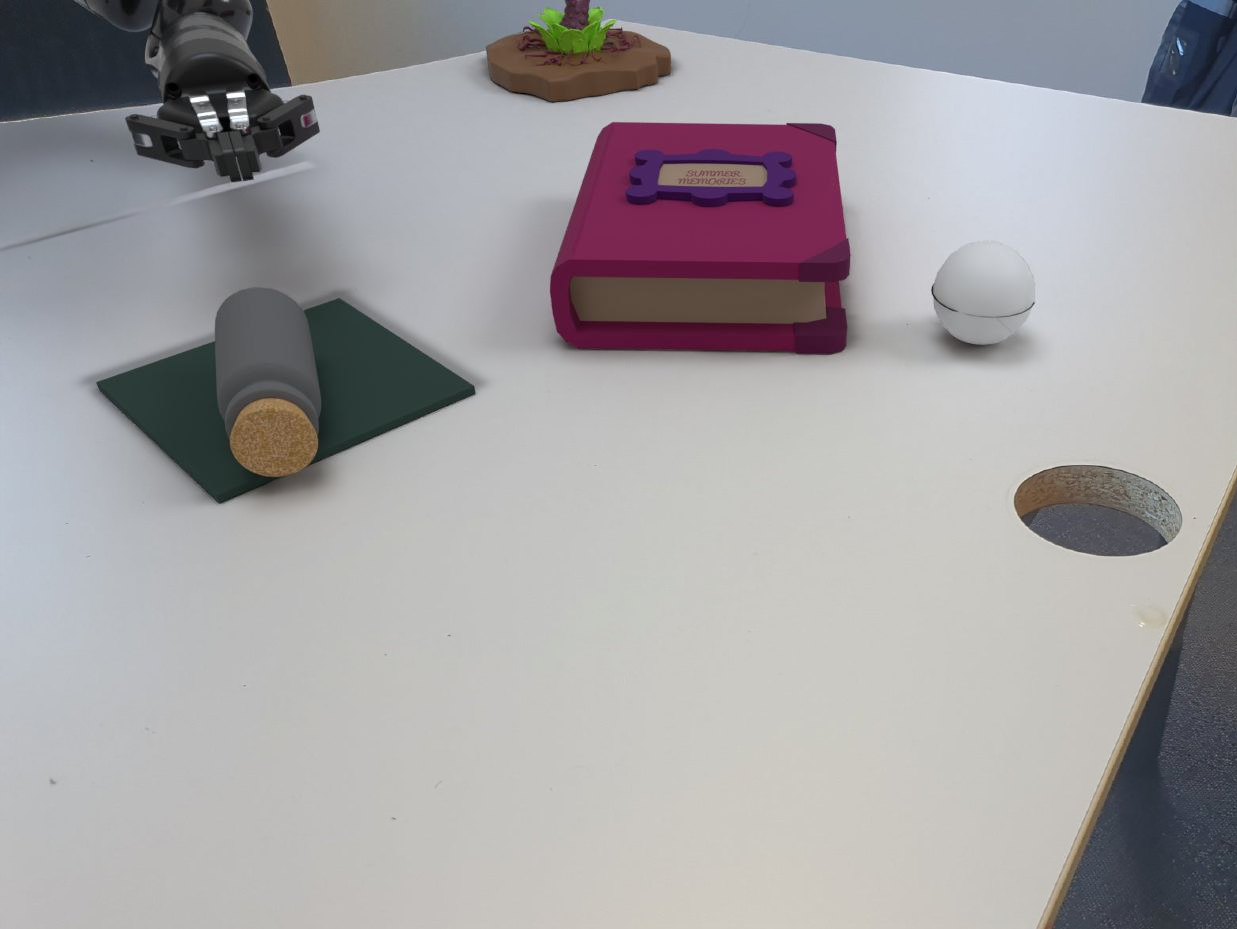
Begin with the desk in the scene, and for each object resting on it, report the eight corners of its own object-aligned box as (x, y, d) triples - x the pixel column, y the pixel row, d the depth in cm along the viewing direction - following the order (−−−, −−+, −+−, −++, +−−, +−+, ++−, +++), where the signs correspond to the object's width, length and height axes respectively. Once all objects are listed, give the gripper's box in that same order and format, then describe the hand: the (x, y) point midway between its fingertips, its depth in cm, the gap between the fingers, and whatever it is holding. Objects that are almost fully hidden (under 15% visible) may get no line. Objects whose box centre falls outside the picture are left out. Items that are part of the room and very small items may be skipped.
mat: (219, 503, 66) (216, 495, 66) (98, 389, 76) (95, 381, 75) (476, 393, 76) (474, 385, 76) (341, 304, 86) (339, 297, 85)
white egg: (922, 314, 86) (932, 222, 81) (1018, 317, 86) (1035, 224, 81) (933, 381, 78) (945, 283, 74) (1039, 384, 78) (1058, 286, 74)
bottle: (313, 292, 75) (333, 404, 65) (305, 369, 78) (323, 488, 68) (216, 279, 73) (220, 394, 62) (212, 360, 76) (216, 482, 65)
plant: (456, 67, 131) (440, -40, 124) (593, 38, 141) (586, -63, 134) (553, 111, 120) (541, -3, 113) (694, 76, 130) (692, -31, 123)
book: (556, 350, 81) (544, 250, 76) (601, 198, 102) (593, 112, 97) (847, 354, 81) (853, 254, 76) (831, 202, 102) (835, 116, 97)
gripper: (317, 128, 90) (354, 207, 78) (138, 151, 86) (147, 237, 74) (293, 27, 85) (328, 95, 73) (101, 46, 81) (106, 120, 69)
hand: (237, 166), depth 73 cm, fingers closed
